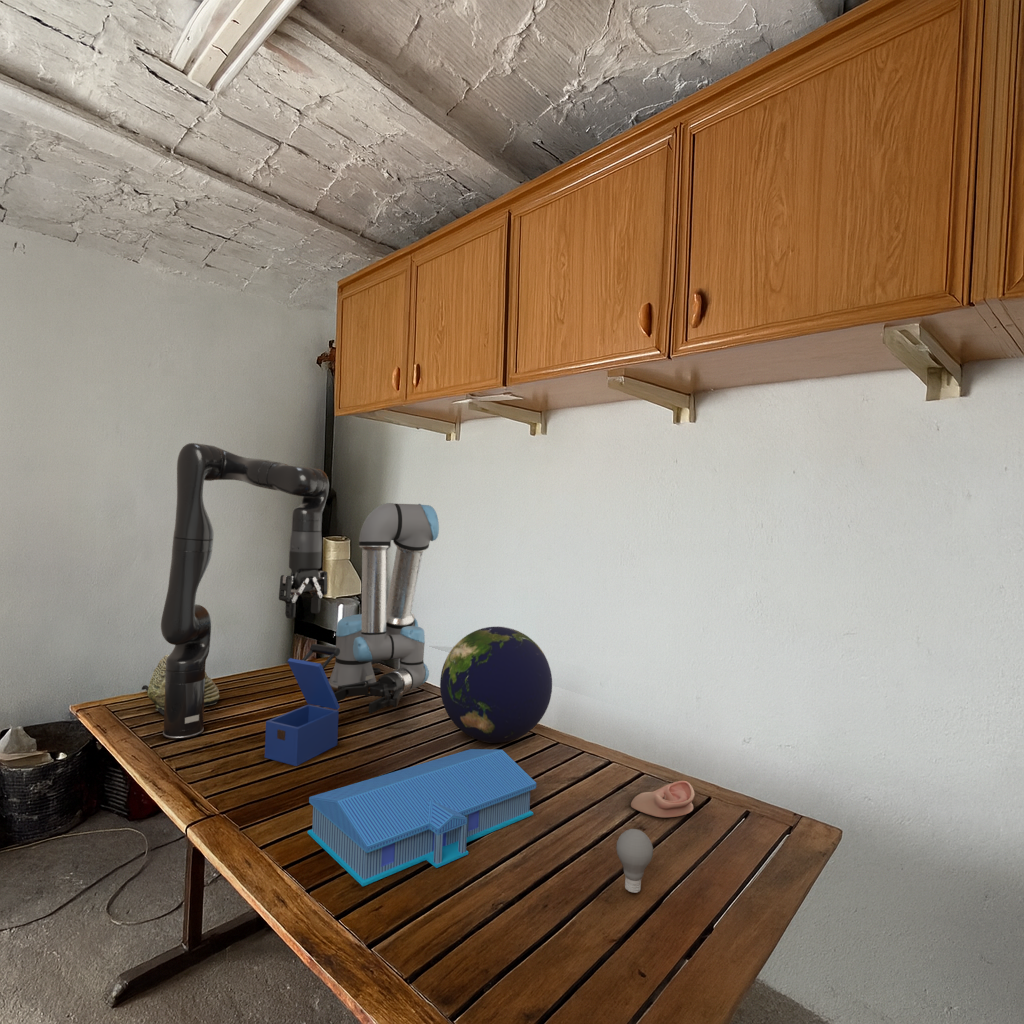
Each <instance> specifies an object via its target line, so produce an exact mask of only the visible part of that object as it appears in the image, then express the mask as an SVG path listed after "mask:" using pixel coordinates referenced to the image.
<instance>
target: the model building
mask: <svg viewBox="0 0 1024 1024" xmlns="http://www.w3.org/2000/svg"><path fill="white" fill-rule="evenodd" d="M537 783H538V782H536V780H534V779H533V778H532V777H531V776H530V775H529V773H527V772H526V771H525V770H524V769H523V768H522V767H521V766H520V765H519V764H518V763H517V762H516V761H515V760H514V759H513V758H512V757H510V756H509V754H507V752H506V751H505V750H503V749H492V748H491V749H485V748H484V749H483V748H481V749H479V748H470V749H466V750H463V751H460V752H456V753H452V754H450V755H446V756H442V757H439V758H436V759H433V760H429V761H426V762H423V763H420V764H416V765H413V766H410V767H406V768H402V769H399V770H396V771H392V772H389V773H386V774H382V775H379V776H376V777H372V778H369V779H365V780H362V781H359V782H355V783H352V784H348V785H345V786H342V787H338V788H336V789H332V790H328V791H325V792H321V793H318V794H315V795H312V796H309V797H308V803H309V804H310V805H311V806H312V828H311V829H308V830H307V834H308V836H309V837H310V838H312V839H313V840H314V841H315V842H316V843H317V845H319V846H320V847H321V848H322V849H323V850H324V851H325V852H326V853H327V854H329V856H330V857H331V858H332V859H333V860H334V861H336V862H337V864H339V865H340V867H342V868H343V869H344V870H345V871H346V872H347V874H349V875H350V876H351V877H352V878H353V879H354V880H355V881H356V882H357V883H358V884H359V885H360V886H361V887H365V886H368V885H371V884H373V883H376V882H377V881H379V880H381V879H385V878H386V877H390V876H391V875H394V874H396V873H400V872H401V871H403V870H406V869H408V868H411V867H413V866H415V865H418V864H420V863H422V862H425V861H426V862H428V863H429V864H431V865H432V866H433V867H434V868H436V869H438V868H440V867H442V866H445V865H447V864H450V863H452V862H455V861H456V860H459V859H461V858H463V857H465V856H466V857H467V856H468V855H469V851H468V850H467V844H468V843H470V842H472V841H475V840H477V839H480V838H481V837H484V836H486V835H488V834H492V833H493V832H496V831H498V830H501V829H503V828H505V827H507V826H510V825H513V824H515V823H517V822H520V821H522V820H525V819H526V818H529V817H532V816H534V812H533V811H532V810H530V807H531V791H532V790H535V789H537Z"/></svg>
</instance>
